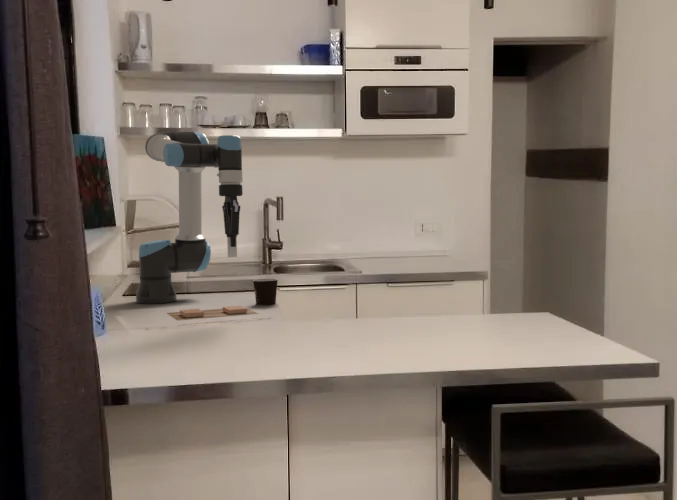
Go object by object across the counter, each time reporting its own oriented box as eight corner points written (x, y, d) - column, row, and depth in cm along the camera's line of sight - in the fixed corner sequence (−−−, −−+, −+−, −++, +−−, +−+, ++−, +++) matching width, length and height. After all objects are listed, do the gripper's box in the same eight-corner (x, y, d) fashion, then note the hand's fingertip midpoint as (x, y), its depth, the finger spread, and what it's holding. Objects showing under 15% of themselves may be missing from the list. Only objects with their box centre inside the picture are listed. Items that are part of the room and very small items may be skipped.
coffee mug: (274, 310, 245) (273, 281, 244) (250, 309, 246) (249, 281, 246) (283, 305, 256) (282, 277, 255) (260, 305, 258) (260, 277, 257)
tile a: (179, 310, 228) (185, 313, 220) (198, 308, 230) (204, 311, 223) (179, 314, 228) (185, 318, 221) (198, 313, 230) (204, 316, 223)
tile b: (222, 306, 233) (228, 310, 226) (240, 305, 236) (247, 308, 229) (222, 311, 234) (229, 314, 226) (240, 310, 236) (247, 313, 229)
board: (166, 317, 232) (166, 312, 232) (243, 311, 243) (243, 306, 243) (177, 325, 217) (177, 320, 217) (258, 318, 228) (258, 313, 227)
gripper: (214, 184, 234) (216, 256, 235) (224, 183, 222) (226, 258, 223) (236, 184, 237) (237, 254, 238) (247, 183, 225) (249, 257, 226)
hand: (232, 256), depth 231 cm, fingers closed
